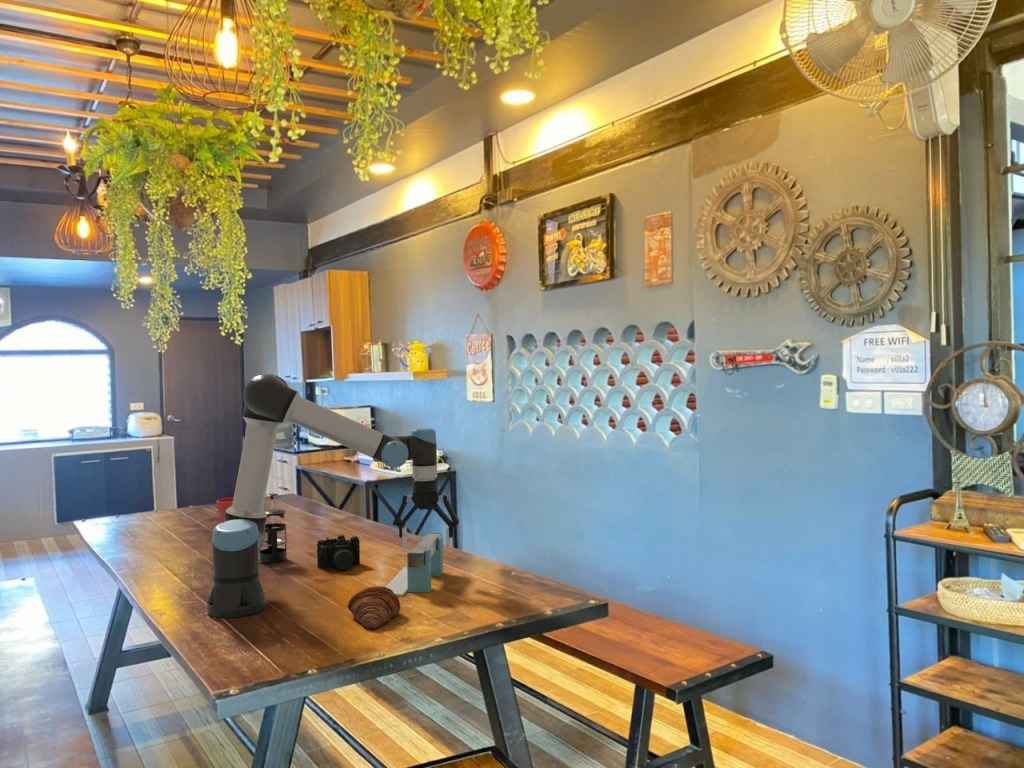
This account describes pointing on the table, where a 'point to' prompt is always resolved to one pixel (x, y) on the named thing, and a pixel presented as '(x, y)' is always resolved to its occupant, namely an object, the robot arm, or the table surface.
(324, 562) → the camera
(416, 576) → the post
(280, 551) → the french press
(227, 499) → the flower pot
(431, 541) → the rail
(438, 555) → the post
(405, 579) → the white flat board
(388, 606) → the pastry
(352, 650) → the table surface
